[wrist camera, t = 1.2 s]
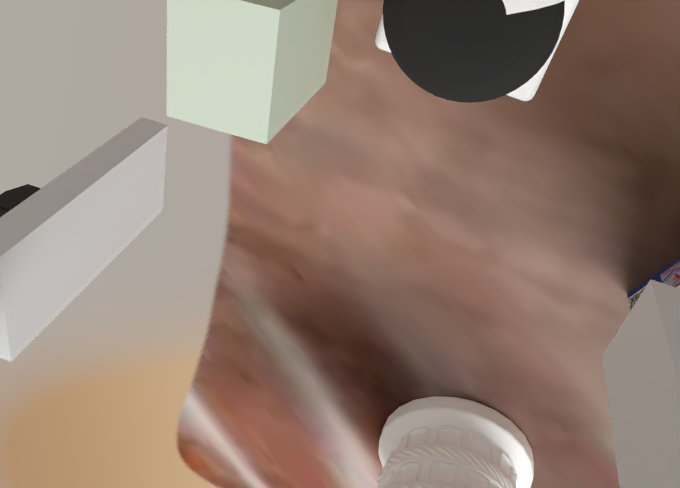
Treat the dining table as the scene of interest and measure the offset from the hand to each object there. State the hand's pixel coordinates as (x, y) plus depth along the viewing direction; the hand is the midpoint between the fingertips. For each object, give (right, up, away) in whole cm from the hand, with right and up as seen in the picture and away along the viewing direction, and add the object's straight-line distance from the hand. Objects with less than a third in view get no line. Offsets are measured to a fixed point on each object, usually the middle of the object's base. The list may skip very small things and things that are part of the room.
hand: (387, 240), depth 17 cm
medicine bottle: (+6, +13, +14) cm, 20 cm away
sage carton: (-4, +12, +18) cm, 22 cm away
